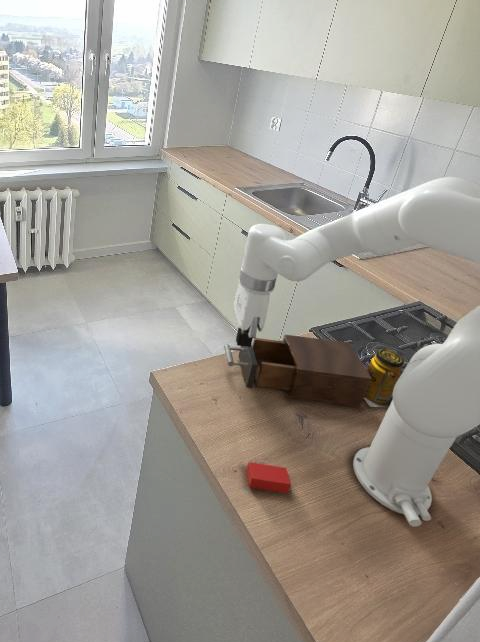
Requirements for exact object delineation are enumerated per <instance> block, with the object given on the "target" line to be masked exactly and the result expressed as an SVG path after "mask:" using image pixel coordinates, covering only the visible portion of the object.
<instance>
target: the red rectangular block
mask: <svg viewBox="0 0 480 642" xmlns="http://www.w3.org/2000/svg"><path fill="white" fill-rule="evenodd" d="M245 473H246V478H247V483H248V487H249V488H252V489H259V490H264V491H271V492H277V493H284V494H288V493H289V491H290V489H291V486H292V483H291V480H290V476H289V473H288V470H287V467H283V466H277V465H270V464H264V463H263V464H262V463H257V462H250V461H248V463H247V466H246V470H245Z"/></svg>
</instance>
